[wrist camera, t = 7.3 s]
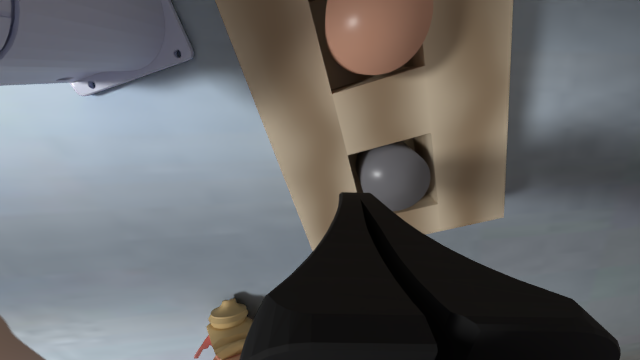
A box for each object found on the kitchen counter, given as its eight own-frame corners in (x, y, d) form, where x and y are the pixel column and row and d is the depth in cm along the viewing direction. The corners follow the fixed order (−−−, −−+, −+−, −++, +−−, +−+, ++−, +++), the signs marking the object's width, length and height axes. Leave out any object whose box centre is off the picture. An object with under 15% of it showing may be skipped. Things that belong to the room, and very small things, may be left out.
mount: (316, 224, 22) (315, 258, 18) (150, -239, 11) (53, -415, 7) (467, 188, 21) (503, 217, 17) (450, -403, 9) (546, -760, 5)
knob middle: (336, 83, 14) (340, 87, 11) (314, -4, 12) (311, -30, 9) (410, 61, 13) (437, 57, 10) (399, -35, 12) (428, -74, 8)
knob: (361, 193, 20) (369, 217, 16) (349, 145, 18) (355, 161, 15) (414, 180, 19) (433, 202, 16) (407, 129, 17) (427, 142, 14)
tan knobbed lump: (191, 294, 28) (199, 326, 20) (272, 278, 33) (305, 299, 25) (188, 380, 26) (196, 451, 18) (273, 349, 32) (307, 394, 24)
